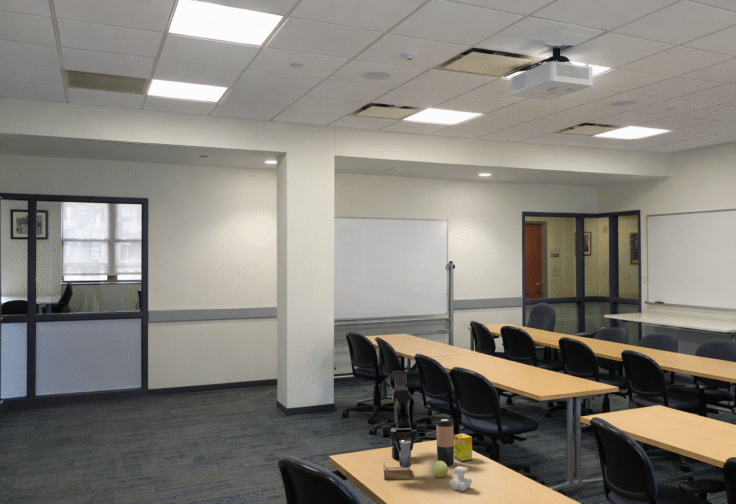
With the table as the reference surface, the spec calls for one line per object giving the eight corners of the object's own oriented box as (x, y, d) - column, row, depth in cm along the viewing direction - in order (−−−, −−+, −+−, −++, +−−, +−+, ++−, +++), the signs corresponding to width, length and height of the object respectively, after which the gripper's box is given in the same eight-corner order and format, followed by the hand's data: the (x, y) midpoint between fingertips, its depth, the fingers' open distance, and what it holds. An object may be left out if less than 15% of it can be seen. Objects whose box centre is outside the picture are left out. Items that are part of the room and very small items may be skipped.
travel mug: (454, 461, 267) (453, 416, 268) (454, 467, 260) (453, 421, 260) (436, 461, 268) (435, 416, 269) (437, 467, 261) (436, 421, 261)
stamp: (458, 483, 241) (458, 463, 241) (473, 487, 237) (473, 466, 237) (448, 491, 233) (447, 469, 233) (463, 494, 229) (463, 472, 230)
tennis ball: (448, 458, 252) (433, 457, 253) (446, 466, 245) (430, 464, 247) (449, 472, 252) (433, 471, 254) (447, 480, 246) (431, 479, 248)
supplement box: (454, 458, 271) (453, 434, 271) (465, 456, 273) (464, 433, 274) (461, 462, 265) (460, 438, 266) (472, 460, 268) (471, 436, 268)
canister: (408, 462, 247) (408, 437, 247) (413, 466, 242) (413, 440, 242) (397, 464, 245) (397, 438, 245) (402, 468, 240) (401, 442, 241)
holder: (383, 470, 258) (383, 461, 258) (408, 469, 258) (408, 461, 258) (384, 479, 247) (384, 470, 247) (410, 478, 247) (410, 470, 247)
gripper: (423, 424, 259) (426, 458, 248) (380, 426, 259) (382, 460, 248) (424, 411, 251) (428, 446, 240) (380, 412, 251) (382, 447, 240)
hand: (405, 450), depth 242 cm, fingers closed on canister, 5 cm apart
